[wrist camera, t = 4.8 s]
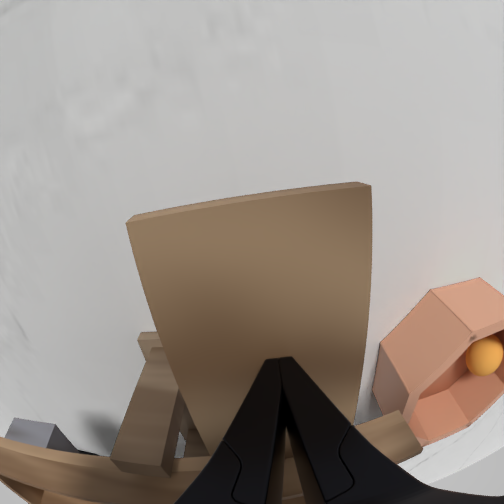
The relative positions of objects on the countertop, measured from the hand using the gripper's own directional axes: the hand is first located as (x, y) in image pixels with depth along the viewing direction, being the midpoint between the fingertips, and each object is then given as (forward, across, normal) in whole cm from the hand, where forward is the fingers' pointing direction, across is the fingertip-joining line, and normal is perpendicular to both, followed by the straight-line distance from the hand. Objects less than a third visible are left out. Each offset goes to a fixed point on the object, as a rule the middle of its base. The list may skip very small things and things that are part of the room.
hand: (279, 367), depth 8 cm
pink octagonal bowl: (+8, -13, +9) cm, 17 cm away
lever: (+2, +6, +4) cm, 8 cm away
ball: (+6, -16, +9) cm, 19 cm away
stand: (+8, +6, +9) cm, 13 cm away
